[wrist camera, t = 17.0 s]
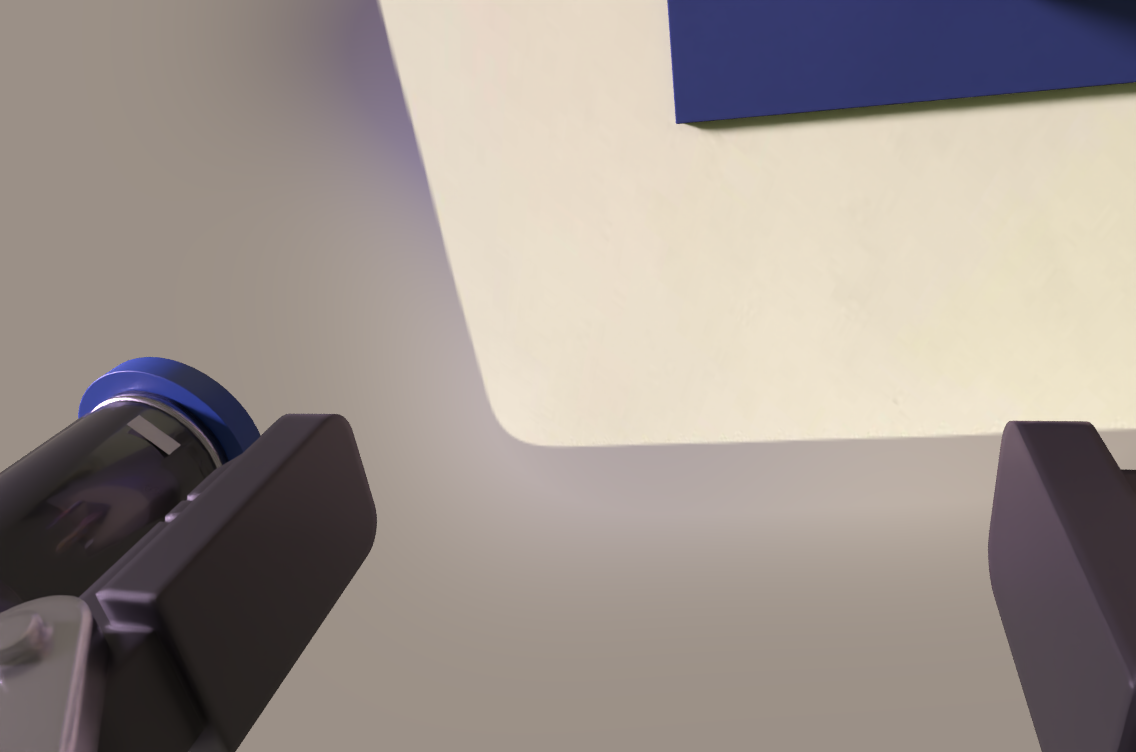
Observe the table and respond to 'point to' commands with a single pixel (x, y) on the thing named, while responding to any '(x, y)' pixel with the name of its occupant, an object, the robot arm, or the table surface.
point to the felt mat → (888, 52)
